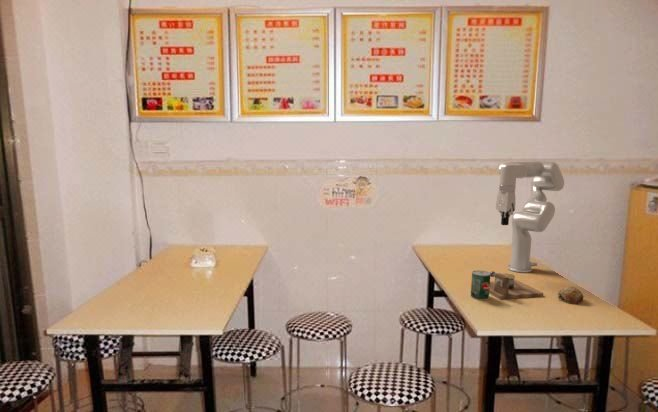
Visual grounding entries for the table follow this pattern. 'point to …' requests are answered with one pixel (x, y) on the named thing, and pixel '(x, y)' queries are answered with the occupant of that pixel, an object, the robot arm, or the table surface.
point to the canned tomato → (480, 285)
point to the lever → (511, 277)
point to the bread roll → (570, 295)
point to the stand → (503, 291)
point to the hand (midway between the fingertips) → (504, 224)
